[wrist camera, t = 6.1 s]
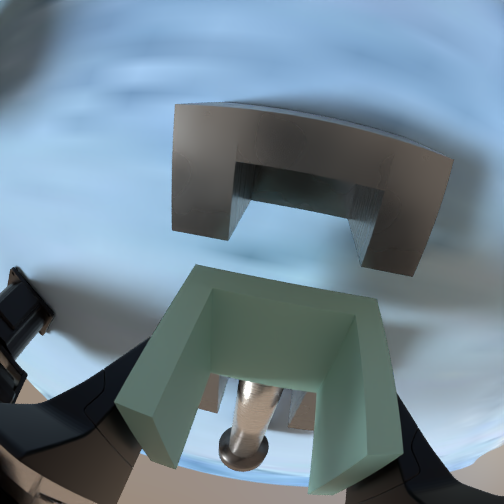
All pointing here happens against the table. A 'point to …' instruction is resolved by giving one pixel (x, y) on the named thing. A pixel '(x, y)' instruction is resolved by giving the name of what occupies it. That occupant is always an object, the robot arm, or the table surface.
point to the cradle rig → (304, 188)
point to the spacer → (270, 369)
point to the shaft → (249, 426)
